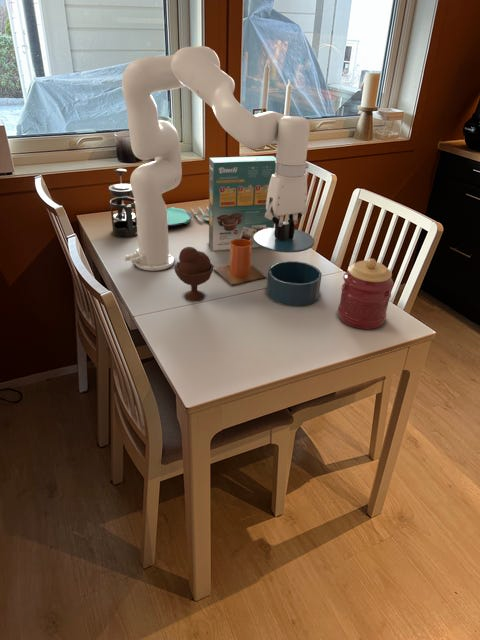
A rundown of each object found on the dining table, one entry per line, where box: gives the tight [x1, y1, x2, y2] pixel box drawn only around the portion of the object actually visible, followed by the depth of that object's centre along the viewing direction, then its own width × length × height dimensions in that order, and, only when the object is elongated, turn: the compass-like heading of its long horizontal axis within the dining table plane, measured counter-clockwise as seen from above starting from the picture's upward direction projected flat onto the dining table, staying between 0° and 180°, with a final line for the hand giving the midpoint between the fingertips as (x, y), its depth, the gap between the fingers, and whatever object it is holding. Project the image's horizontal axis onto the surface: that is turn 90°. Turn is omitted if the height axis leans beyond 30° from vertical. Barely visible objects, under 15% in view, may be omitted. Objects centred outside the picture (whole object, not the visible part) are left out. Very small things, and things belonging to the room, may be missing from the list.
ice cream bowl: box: [173, 246, 215, 302], centre depth 142 cm, size 11×11×15 cm
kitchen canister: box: [337, 258, 394, 330], centre depth 135 cm, size 13×13×18 cm
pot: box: [266, 260, 322, 307], centre depth 148 cm, size 15×16×7 cm
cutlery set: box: [166, 206, 209, 227], centre depth 198 cm, size 20×30×2 cm, turn 110°
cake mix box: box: [208, 155, 276, 252], centre depth 171 cm, size 22×6×30 cm, turn 106°
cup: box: [229, 239, 253, 277], centre depth 156 cm, size 7×7×10 cm
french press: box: [108, 168, 138, 239], centre depth 179 cm, size 12×9×23 cm
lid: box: [254, 220, 315, 254], centre depth 135 cm, size 16×16×6 cm
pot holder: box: [213, 264, 266, 287], centre depth 159 cm, size 12×12×1 cm
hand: (284, 237), depth 136 cm, fingers closed on lid, 2 cm apart
